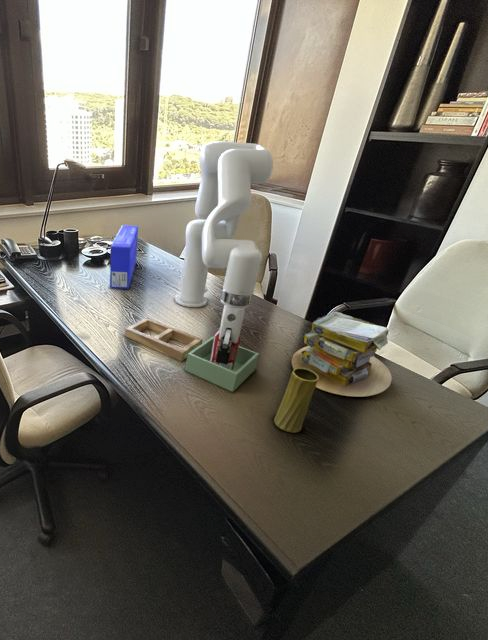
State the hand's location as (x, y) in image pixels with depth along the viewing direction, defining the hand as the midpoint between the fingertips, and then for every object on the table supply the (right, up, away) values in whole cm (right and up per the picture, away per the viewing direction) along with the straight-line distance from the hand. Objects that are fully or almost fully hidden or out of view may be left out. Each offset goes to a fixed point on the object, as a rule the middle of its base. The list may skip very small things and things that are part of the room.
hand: (223, 355), depth 104 cm
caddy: (-15, +4, +15) cm, 22 cm away
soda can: (0, -4, +2) cm, 4 cm away
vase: (+10, -16, -17) cm, 25 cm away
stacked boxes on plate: (+34, -5, +4) cm, 35 cm away
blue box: (-26, +37, +70) cm, 83 cm away
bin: (0, -4, +2) cm, 5 cm away
